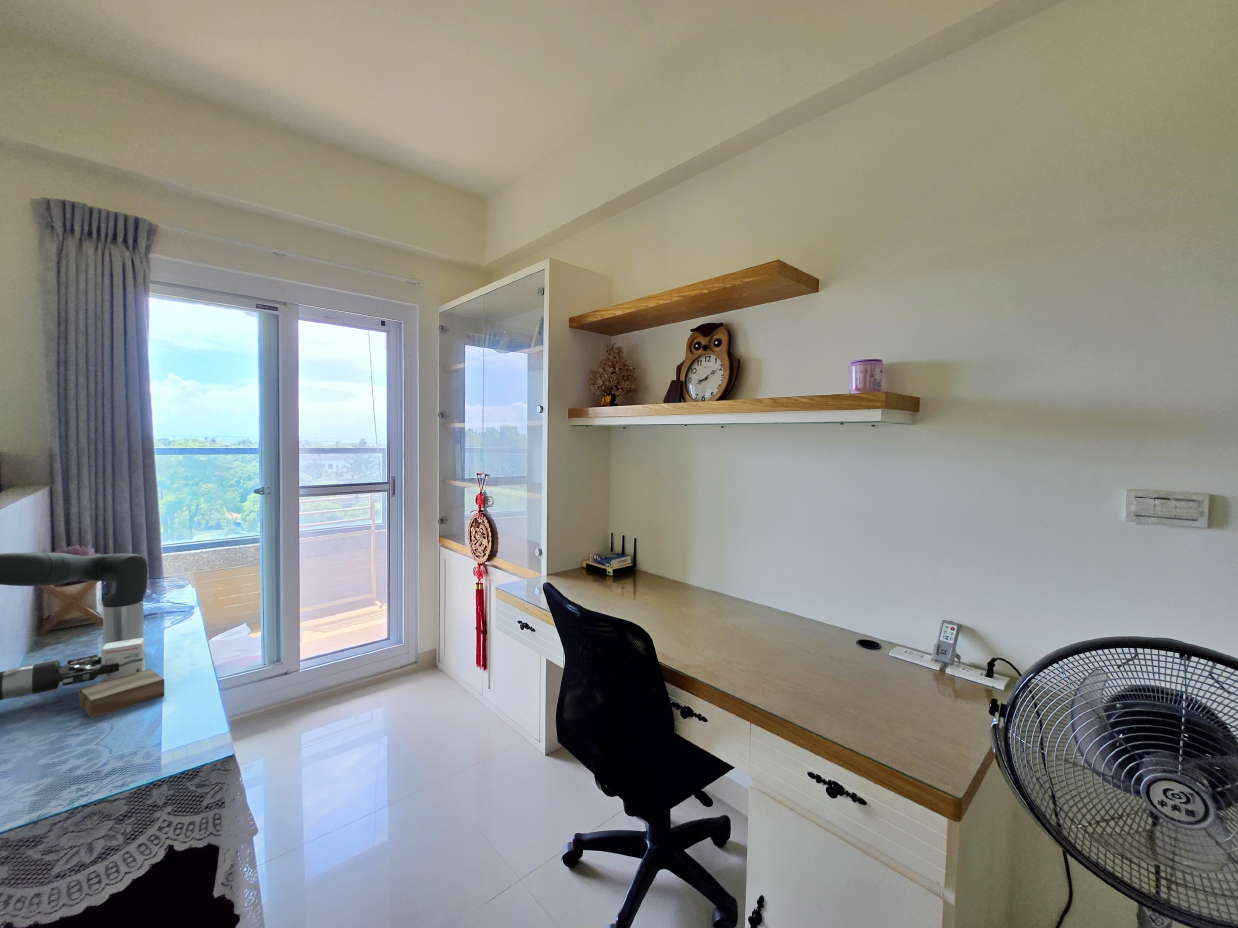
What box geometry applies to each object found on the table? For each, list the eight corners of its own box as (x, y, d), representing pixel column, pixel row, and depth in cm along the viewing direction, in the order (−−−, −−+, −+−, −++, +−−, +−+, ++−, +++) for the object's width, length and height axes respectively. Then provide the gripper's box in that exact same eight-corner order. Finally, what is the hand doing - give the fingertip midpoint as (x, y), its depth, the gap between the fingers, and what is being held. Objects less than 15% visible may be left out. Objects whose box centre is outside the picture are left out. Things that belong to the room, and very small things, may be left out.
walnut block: (79, 706, 130) (79, 688, 129) (150, 685, 141) (150, 668, 141) (91, 719, 124) (91, 700, 124) (164, 696, 136) (164, 678, 136)
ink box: (99, 691, 137) (99, 649, 137) (103, 684, 141) (103, 643, 141) (142, 682, 143) (142, 642, 142) (145, 676, 146) (145, 637, 146)
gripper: (27, 674, 125) (119, 656, 136) (35, 656, 135) (119, 641, 146) (28, 703, 125) (119, 683, 136) (35, 684, 135) (120, 666, 146)
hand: (119, 661), depth 141 cm, fingers open, 8 cm apart
